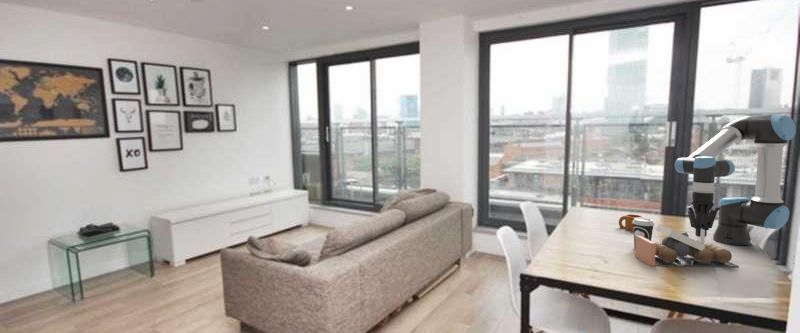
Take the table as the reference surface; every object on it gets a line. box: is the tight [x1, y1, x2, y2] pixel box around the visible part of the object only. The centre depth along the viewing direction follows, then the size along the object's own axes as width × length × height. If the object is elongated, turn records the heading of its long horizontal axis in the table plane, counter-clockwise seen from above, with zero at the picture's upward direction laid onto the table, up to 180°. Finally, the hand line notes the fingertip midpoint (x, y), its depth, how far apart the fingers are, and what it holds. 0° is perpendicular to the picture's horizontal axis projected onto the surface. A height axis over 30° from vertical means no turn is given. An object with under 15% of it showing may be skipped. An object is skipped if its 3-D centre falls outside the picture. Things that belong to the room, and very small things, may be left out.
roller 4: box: [704, 242, 733, 263], centre depth 176 cm, size 10×6×6 cm, turn 175°
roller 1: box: [655, 242, 677, 262], centre depth 178 cm, size 10×6×6 cm, turn 175°
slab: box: [655, 224, 706, 251], centre depth 177 cm, size 16×10×3 cm, turn 87°
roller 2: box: [661, 236, 690, 257], centre depth 178 cm, size 10×6×6 cm
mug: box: [618, 213, 644, 232], centre depth 231 cm, size 9×12×9 cm
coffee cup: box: [632, 217, 655, 249], centre depth 196 cm, size 10×10×15 cm
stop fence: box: [634, 235, 657, 267], centre depth 179 cm, size 2×13×10 cm, turn 175°
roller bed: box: [654, 255, 739, 268], centre depth 178 cm, size 34×14×2 cm, turn 85°
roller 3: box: [688, 245, 714, 263], centre depth 177 cm, size 10×6×6 cm, turn 175°
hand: (700, 243), depth 177 cm, fingers closed
